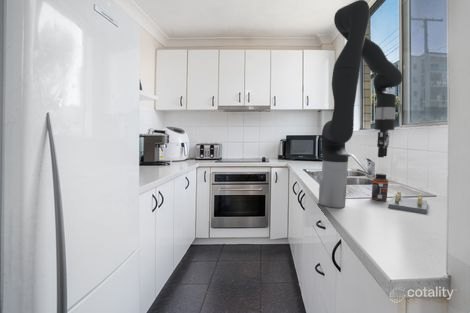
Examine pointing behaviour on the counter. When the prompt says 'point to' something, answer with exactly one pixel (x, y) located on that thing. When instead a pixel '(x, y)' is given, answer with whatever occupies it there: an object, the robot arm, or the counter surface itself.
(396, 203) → the plate
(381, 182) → the supplement bottle
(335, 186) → the robot arm
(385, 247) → the counter surface
